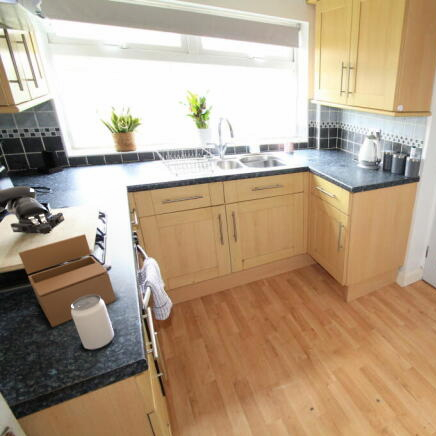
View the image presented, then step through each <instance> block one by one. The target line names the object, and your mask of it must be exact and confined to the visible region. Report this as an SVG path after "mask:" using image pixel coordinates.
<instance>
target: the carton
mask: <svg viewBox="0 0 436 436" xmlns="http://www.w3.org/2000/svg"><path fill="white" fill-rule="evenodd" d="M27 277H28V280H29V282H30V284H31V287H32V289H33V291H34V293H35V296H36V299H37V302H38V303H39V305H40V307H41V309H42V311H43V313H44V315H45V316H46V318H47V321H48V322H49V324H50V327H52V328H55V327H57V326H59V325H61V324H64V323H66V322H68V321H70V320H73V317H72V314H71V310H72V307H71V305H72V303H73V302H74V301H76V300H77V299H79V298H81V297H83V296H87V295H99V296H100V298H101V299H102V300H103V301H104V303H105V306H107V305H109V304H111V303H112V302H115V301H117V299H116V294H115V291H114V289H113V285H112V282H111V278H110V275H109V272H108V270H107V269H106V268H105V267H104V266H103V265H102V264H101V262H100V261H97V260H96V258H95V257H93V255H88V256H87V257H86V256H85V257H82V258H81V259H80V258H79V259H76V260H73V261H70V262H67V263H65V264H64V263H63V264H62V265H61V264H60V265H59V266H58V265H57V266H54V267H53V268H52V267H51V268H48V269H45V270H42V271H39V272H36V273H34V274H33V273H32V274H31V275H30V274H29V275H28V276H27Z"/></svg>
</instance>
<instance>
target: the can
mask: <svg viewBox="0 0 436 436" xmlns="http://www.w3.org/2000/svg"><path fill="white" fill-rule="evenodd" d="M71 307H72V310H71V314H72V317H73V319H72V320H73V322H74V325H75V328H76V331H77V333H78V335H79V338H80V341H81V343H82V346H83V348H84V349H87V350H97V349H98V350H99V349H101V348H103V347H105V346H107V345H108V344H110V343H111V341H113V339H114V337H115V331H114V328H113V326H112V325H113V324H112V322H111V319H110V315H109V312H108V309H107V305H105V303H104V301H103V300H102V299H101V298H100V296H99V295H87V296H83V297H81V298H79V299H77V300H76V301H74V302H73V303H72V305H71Z"/></svg>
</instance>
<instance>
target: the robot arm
mask: <svg viewBox="0 0 436 436" xmlns="http://www.w3.org/2000/svg"><path fill="white" fill-rule="evenodd" d="M5 209H7V212H8V213H9V214H10V215H11V216H15V217H16V219H17V220H18V222H12V223H10V227H11V229H12V232H13V233H21V234H33V233H35V232H38V233H39V234H40V235H42V234H43V235H48V234H51V232H52V231H53V229H52V228H56V227H57V226H59V225H60V224H61V223H63V222H64V221H65V217H64V213H63V212H58V213H56V214H54V213H51V212H50V211H49V210H48V209H47V208H46V206H45V205H43V204H41V203H40V201H38V200H37V192H36V190H35V189H34V188H33V187H30V186H26V185H25V186H24V185H18V186H12V187H7V188H3V189H0V213H1V212H3V211H4V210H5Z"/></svg>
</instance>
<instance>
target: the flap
mask: <svg viewBox="0 0 436 436" xmlns="http://www.w3.org/2000/svg"><path fill="white" fill-rule="evenodd" d="M91 254H92V252H91V249H90V246H89V242H88V239H87V236H86V234H85V233H84V234H81V235H77V236H72V237H70V238H65V239H62V240H58V241H55V242H51V243H47V244H44V245H41V246H36V247H33V248H30V249H25V250H22V251H19V252H18V255H19V258H20V261H21V262H22V265H23V267H24V270H25V272H26V274H27V275H30V274H33V273H35V272H36V273H37V272H40V271H43V270H47V269H50V268H52V267H56V266H58V265H61V264H64V263H69V262H72V261H75V260H78V259H80V258H84V257H86V256H87V257H88V256H91Z"/></svg>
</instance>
